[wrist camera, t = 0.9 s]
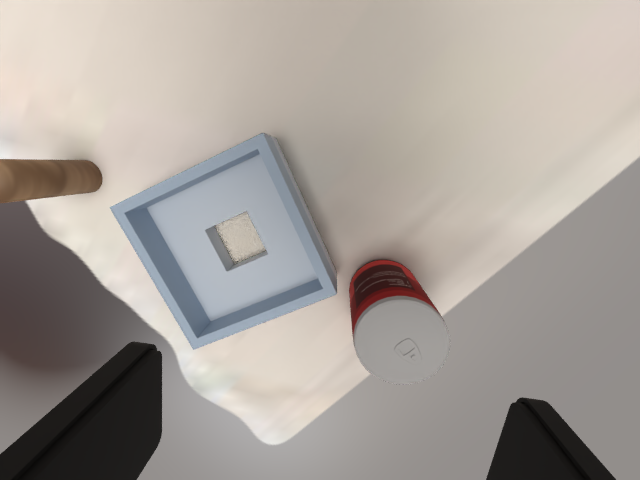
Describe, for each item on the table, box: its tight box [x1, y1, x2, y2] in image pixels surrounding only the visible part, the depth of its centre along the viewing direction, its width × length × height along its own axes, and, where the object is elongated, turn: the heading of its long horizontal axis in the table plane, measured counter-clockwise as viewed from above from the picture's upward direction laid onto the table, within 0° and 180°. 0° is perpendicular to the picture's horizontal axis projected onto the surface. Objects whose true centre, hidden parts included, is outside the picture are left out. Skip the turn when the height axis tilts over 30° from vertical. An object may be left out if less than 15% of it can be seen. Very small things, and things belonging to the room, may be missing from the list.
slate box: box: [110, 133, 337, 350], centre depth 32 cm, size 16×16×6 cm
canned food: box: [349, 260, 450, 385], centre depth 30 cm, size 8×8×11 cm
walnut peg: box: [0, 159, 102, 203], centre depth 30 cm, size 4×4×10 cm
